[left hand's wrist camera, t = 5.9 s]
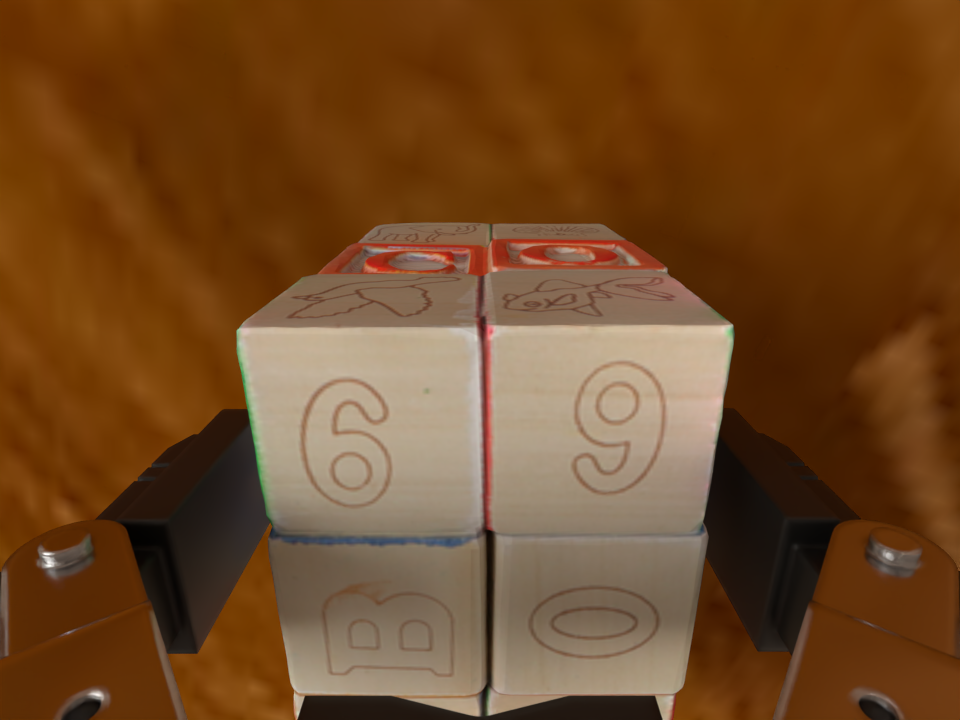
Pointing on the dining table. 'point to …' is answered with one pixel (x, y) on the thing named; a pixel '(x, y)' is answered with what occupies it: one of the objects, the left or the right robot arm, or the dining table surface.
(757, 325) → the dining table surface
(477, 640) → the stack of blocks
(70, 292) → the dining table surface
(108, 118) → the dining table surface
